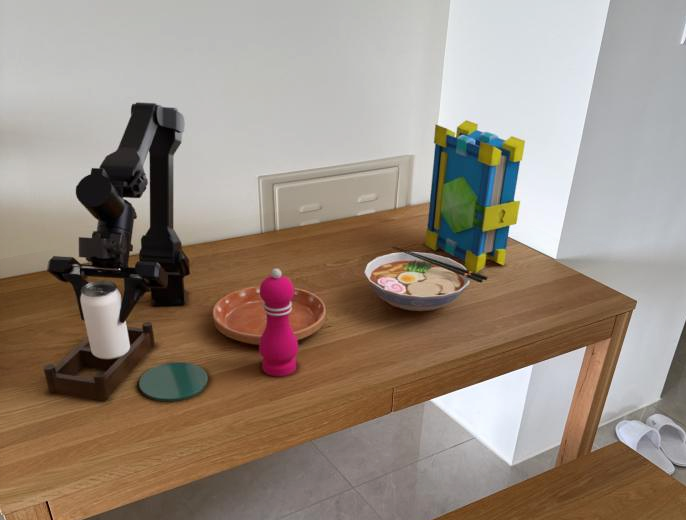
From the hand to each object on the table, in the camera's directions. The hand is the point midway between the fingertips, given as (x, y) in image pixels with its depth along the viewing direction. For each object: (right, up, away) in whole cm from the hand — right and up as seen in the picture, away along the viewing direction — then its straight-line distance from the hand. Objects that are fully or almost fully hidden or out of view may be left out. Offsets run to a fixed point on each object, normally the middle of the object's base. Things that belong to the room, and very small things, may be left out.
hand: (102, 321), depth 120 cm
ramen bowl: (+55, +8, +39) cm, 68 cm away
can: (0, -5, +5) cm, 7 cm away
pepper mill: (+28, -7, +15) cm, 32 cm away
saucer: (+24, +2, +29) cm, 38 cm away
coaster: (+10, -10, +9) cm, 17 cm away
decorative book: (+69, +24, +62) cm, 96 cm away
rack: (-4, -7, +13) cm, 15 cm away
